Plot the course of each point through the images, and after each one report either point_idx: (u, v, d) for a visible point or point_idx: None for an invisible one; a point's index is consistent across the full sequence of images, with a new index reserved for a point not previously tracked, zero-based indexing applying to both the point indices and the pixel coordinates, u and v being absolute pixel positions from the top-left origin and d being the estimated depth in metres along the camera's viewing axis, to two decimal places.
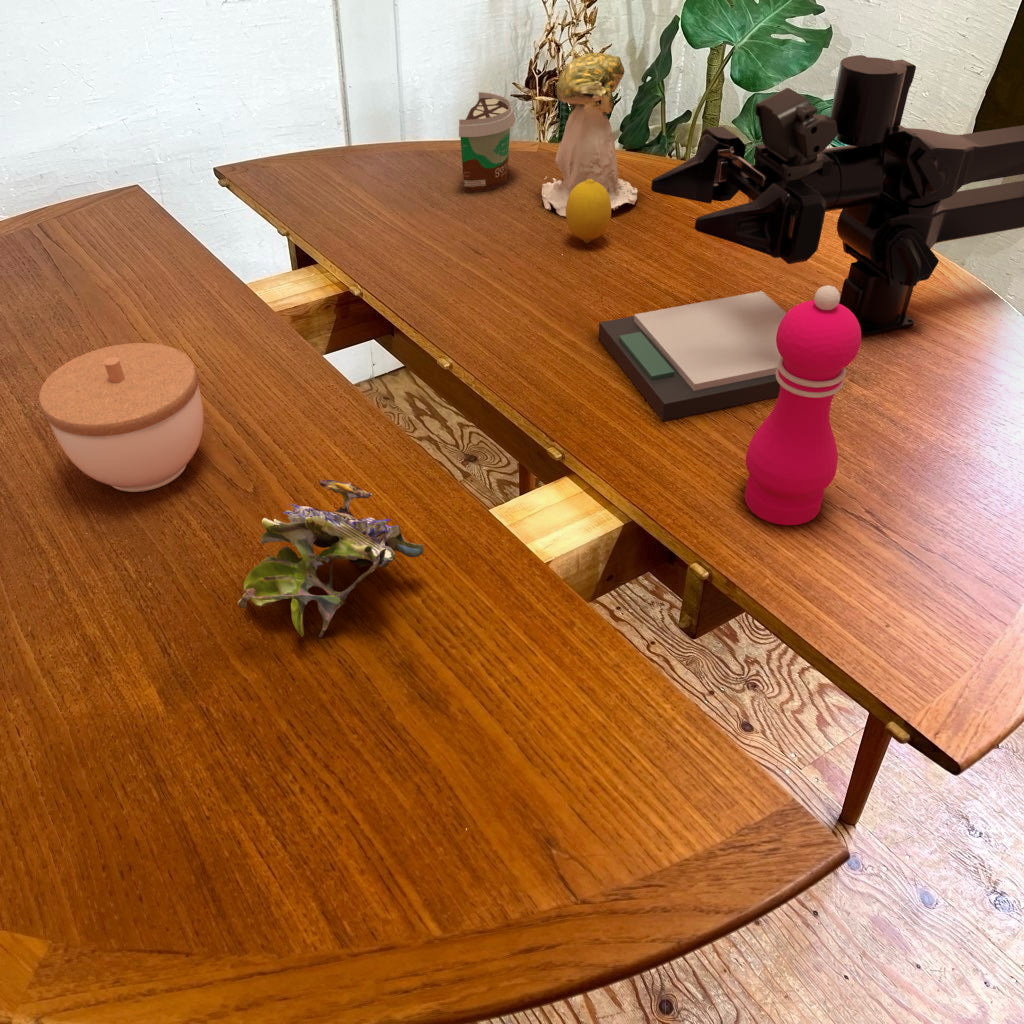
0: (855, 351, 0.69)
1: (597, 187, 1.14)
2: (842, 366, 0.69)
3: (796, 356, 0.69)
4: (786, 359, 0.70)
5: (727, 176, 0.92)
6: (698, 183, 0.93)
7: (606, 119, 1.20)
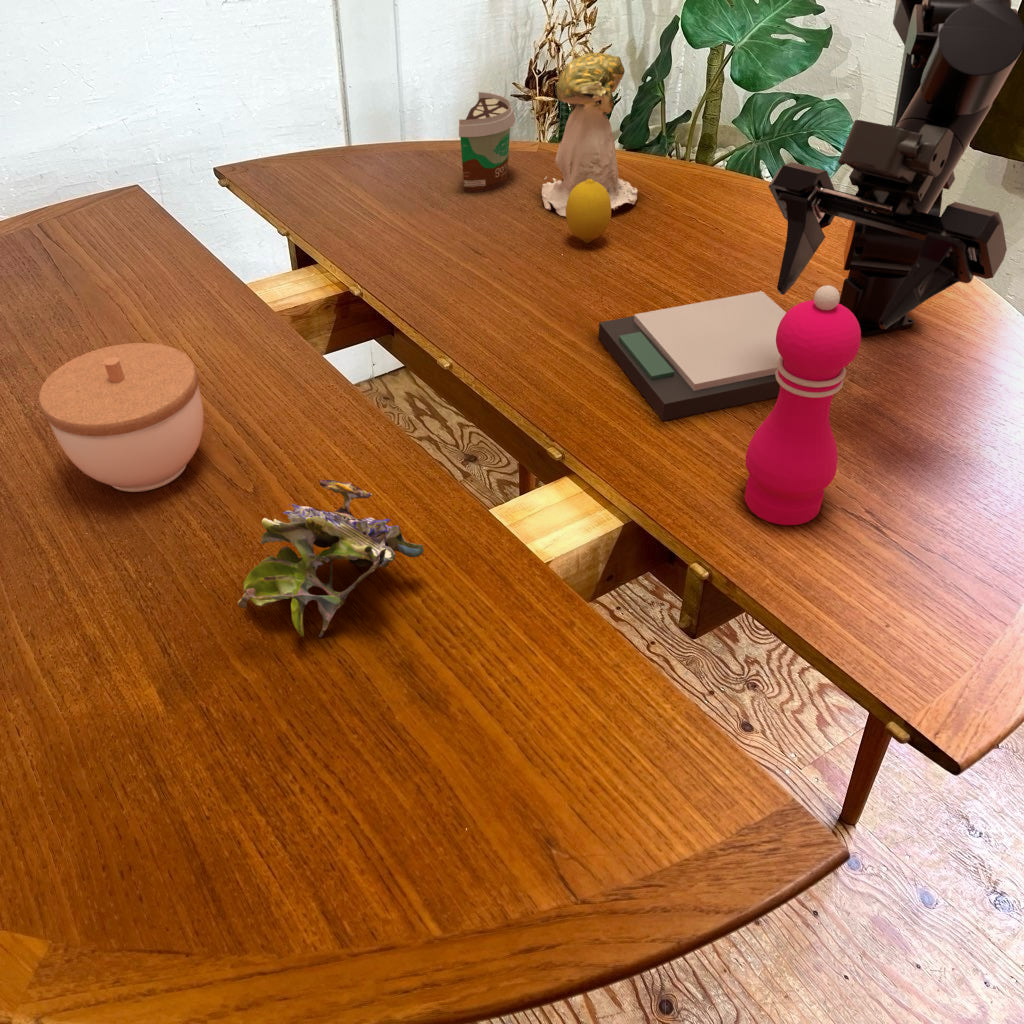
0: (855, 351, 0.69)
1: (597, 187, 1.14)
2: (842, 366, 0.69)
3: (796, 356, 0.69)
4: (786, 359, 0.70)
5: (831, 212, 0.80)
6: (809, 243, 0.81)
7: (606, 119, 1.20)
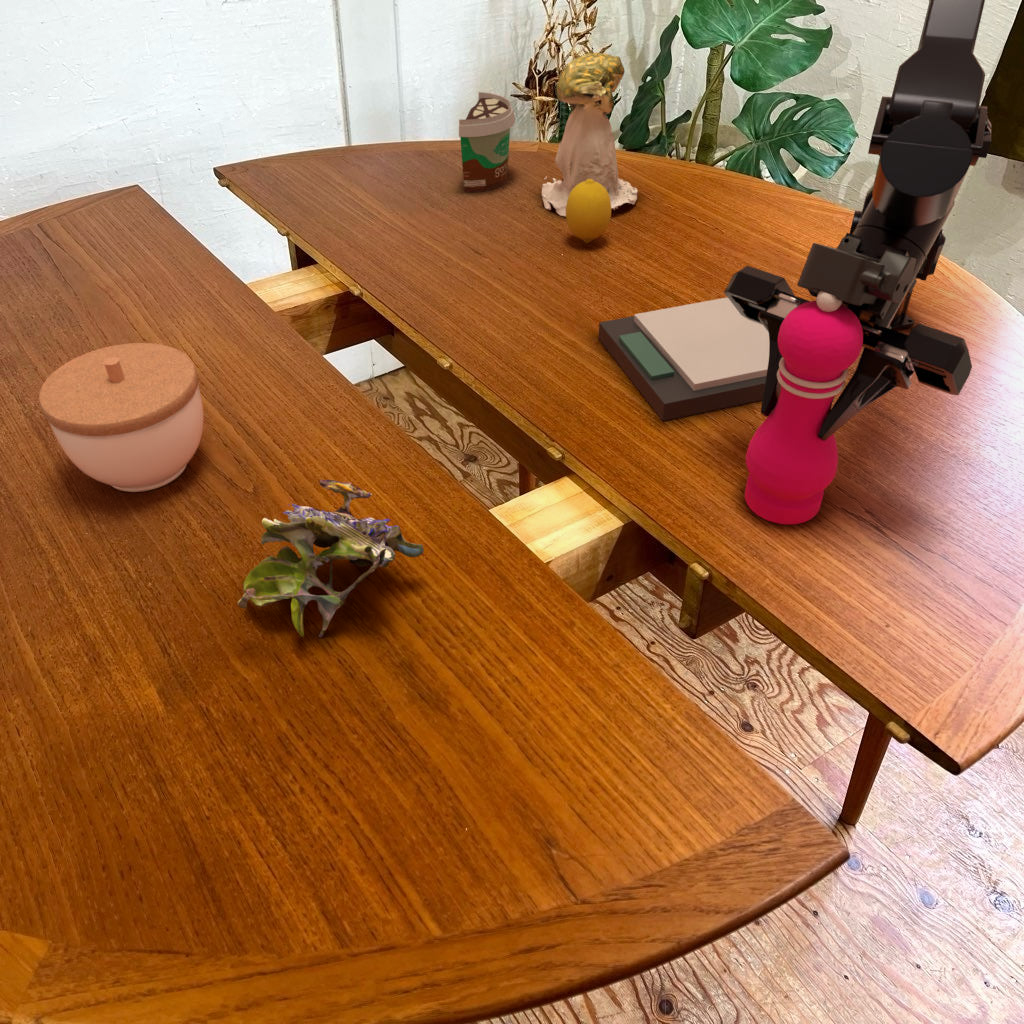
0: (856, 353, 0.69)
1: (597, 187, 1.14)
2: (842, 368, 0.69)
3: (796, 357, 0.69)
4: (787, 359, 0.70)
5: None
6: None
7: (606, 119, 1.20)
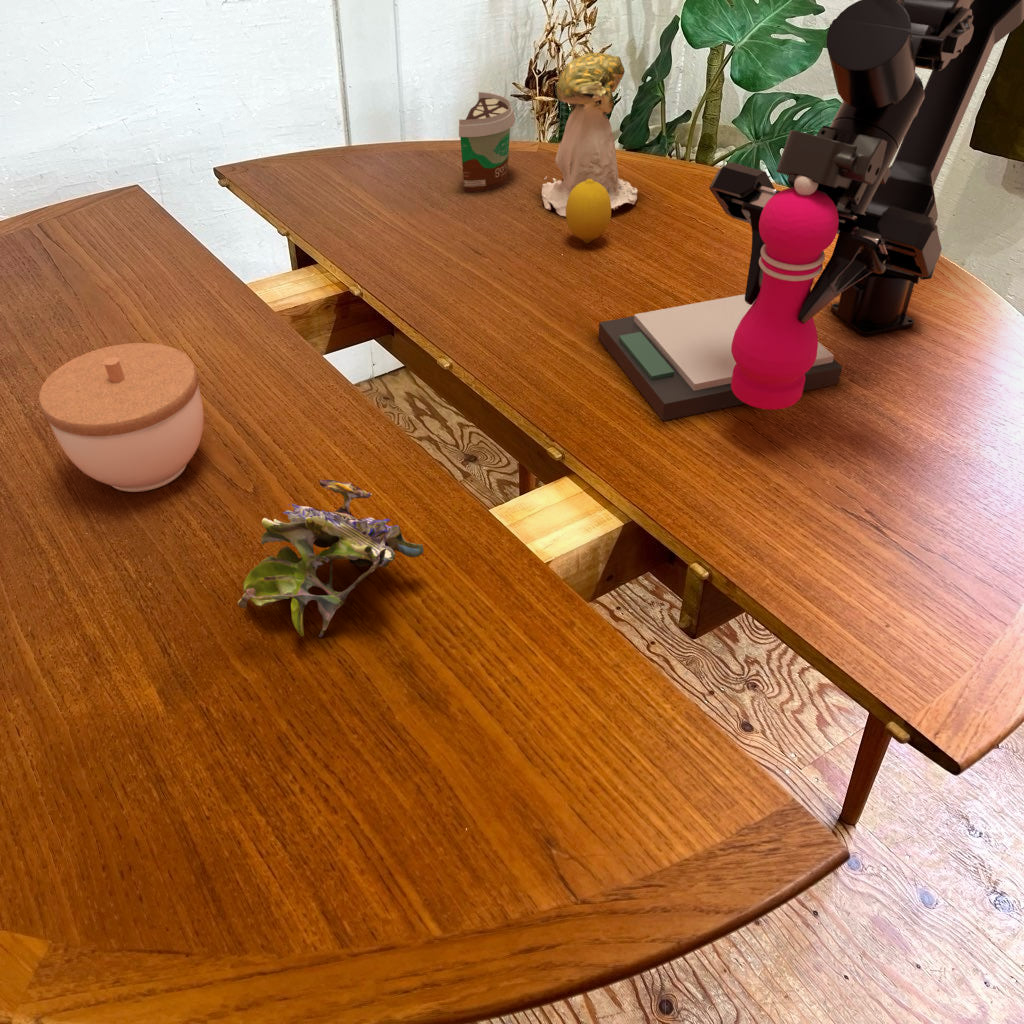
0: (832, 235, 0.73)
1: (597, 187, 1.14)
2: (819, 249, 0.74)
3: (776, 239, 0.74)
4: (767, 243, 0.75)
5: None
6: None
7: (606, 119, 1.20)
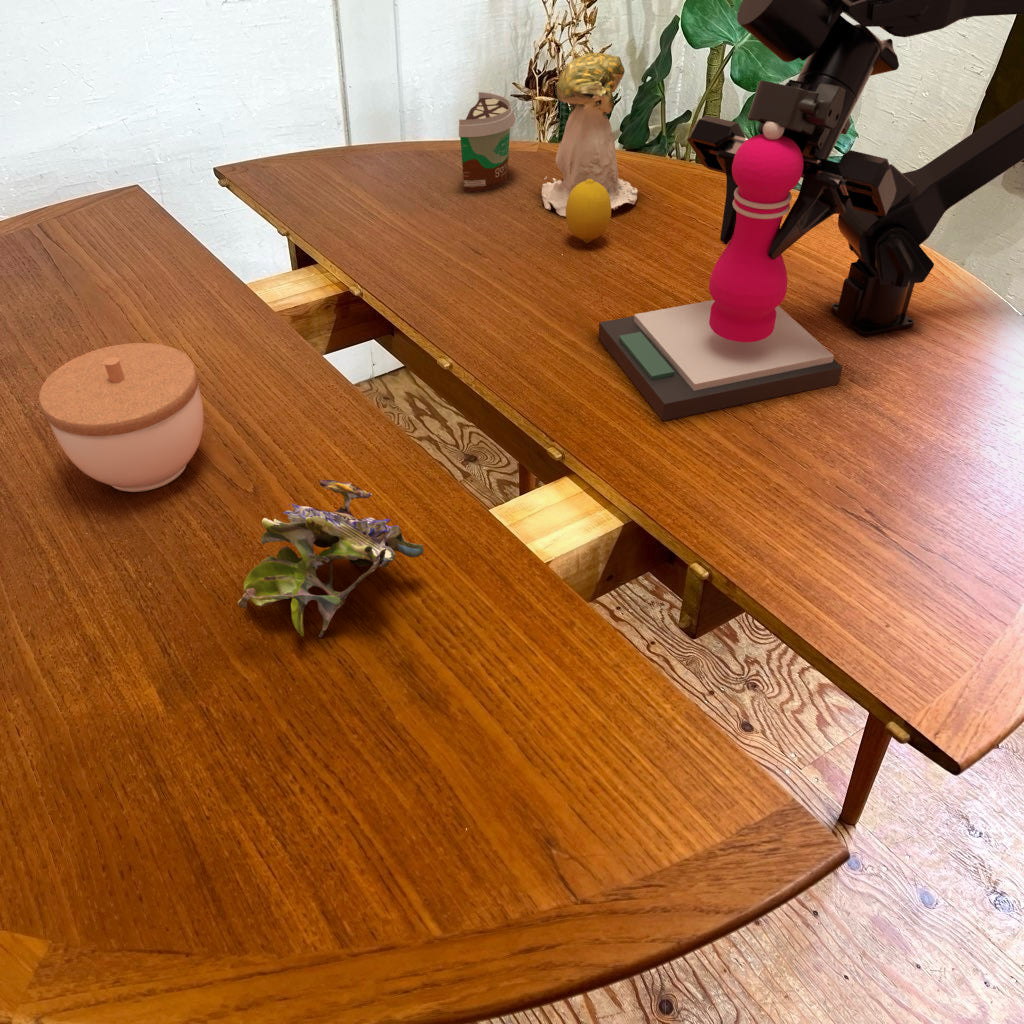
0: (797, 175, 0.82)
1: (597, 187, 1.14)
2: (786, 188, 0.82)
3: (747, 180, 0.82)
4: (739, 184, 0.83)
5: None
6: None
7: (606, 119, 1.20)
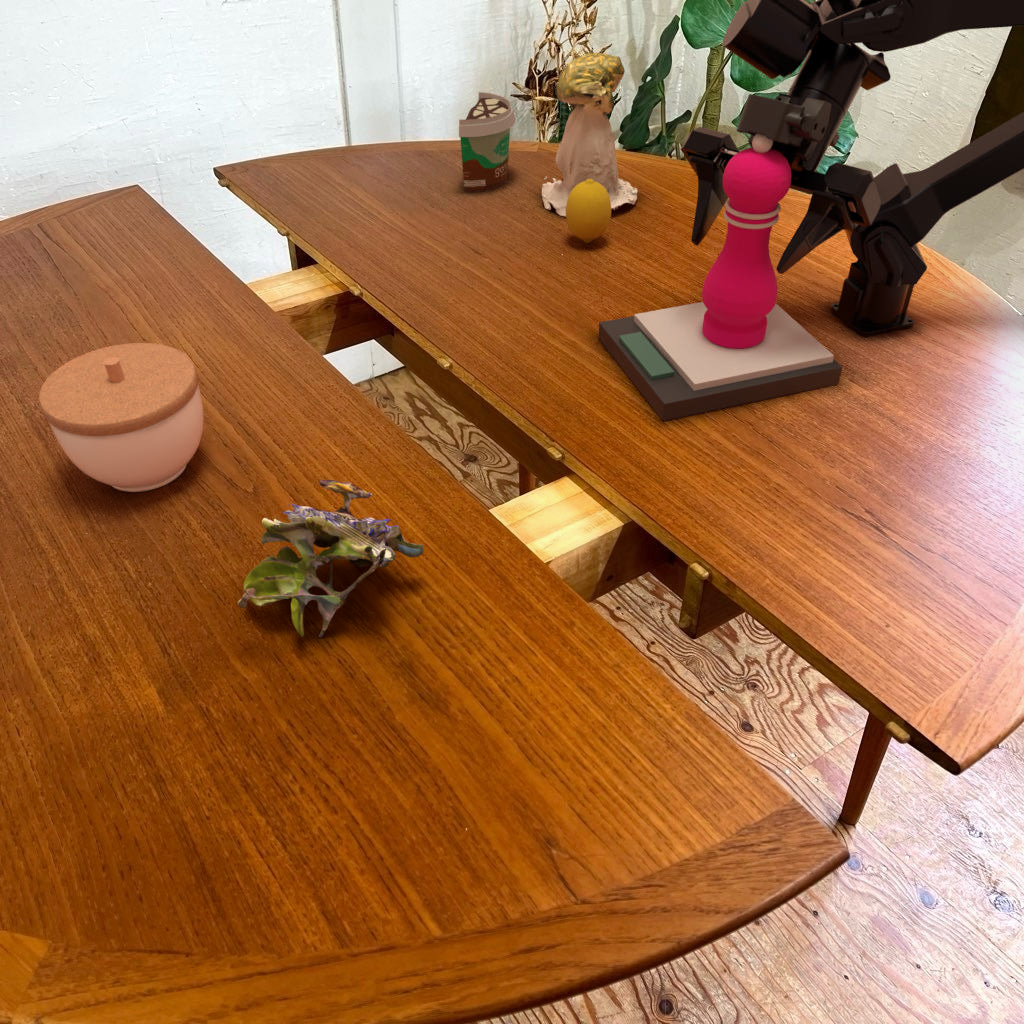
0: (785, 187, 0.85)
1: (597, 187, 1.14)
2: (774, 200, 0.85)
3: (736, 191, 0.85)
4: (729, 195, 0.86)
5: None
6: (718, 198, 0.93)
7: (606, 119, 1.20)
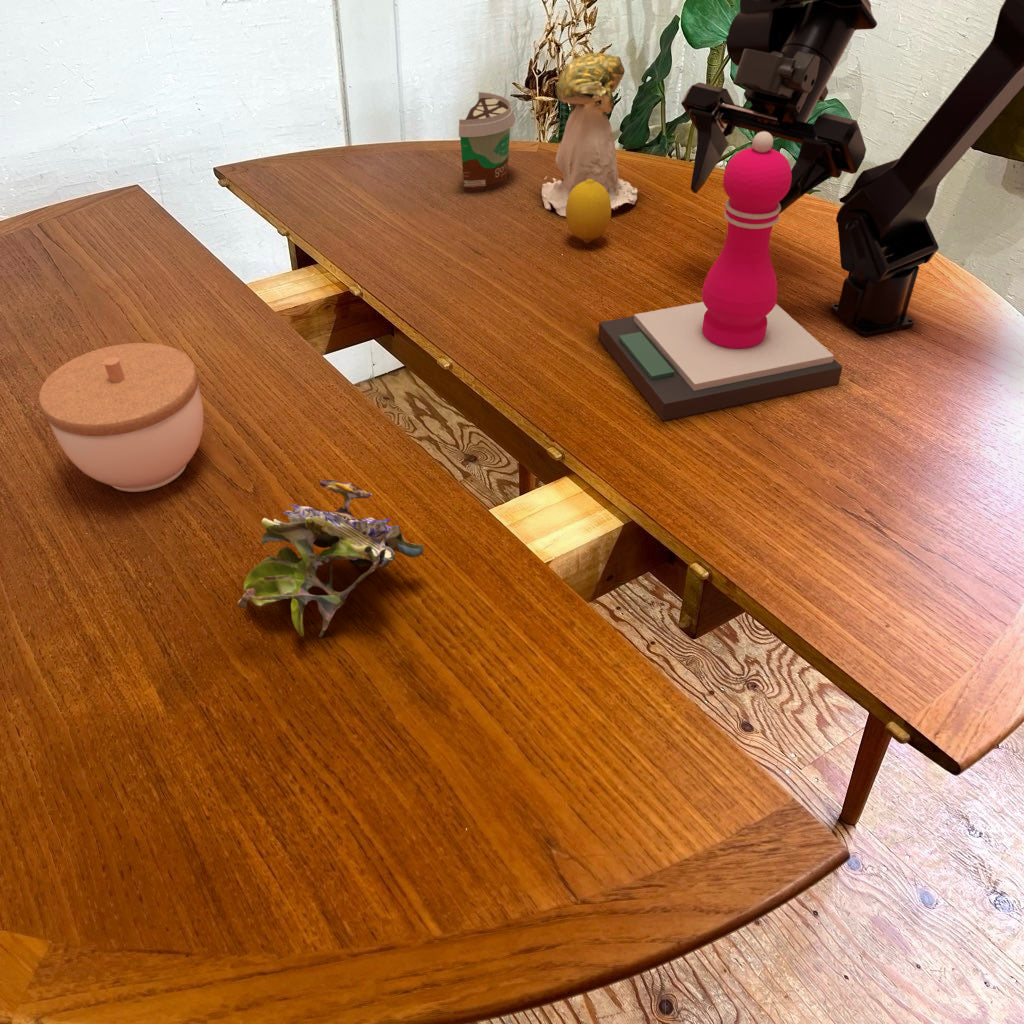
0: (785, 187, 0.85)
1: (597, 187, 1.14)
2: (775, 199, 0.85)
3: (737, 191, 0.85)
4: (730, 195, 0.86)
5: (732, 123, 0.99)
6: (715, 149, 1.00)
7: (606, 119, 1.20)
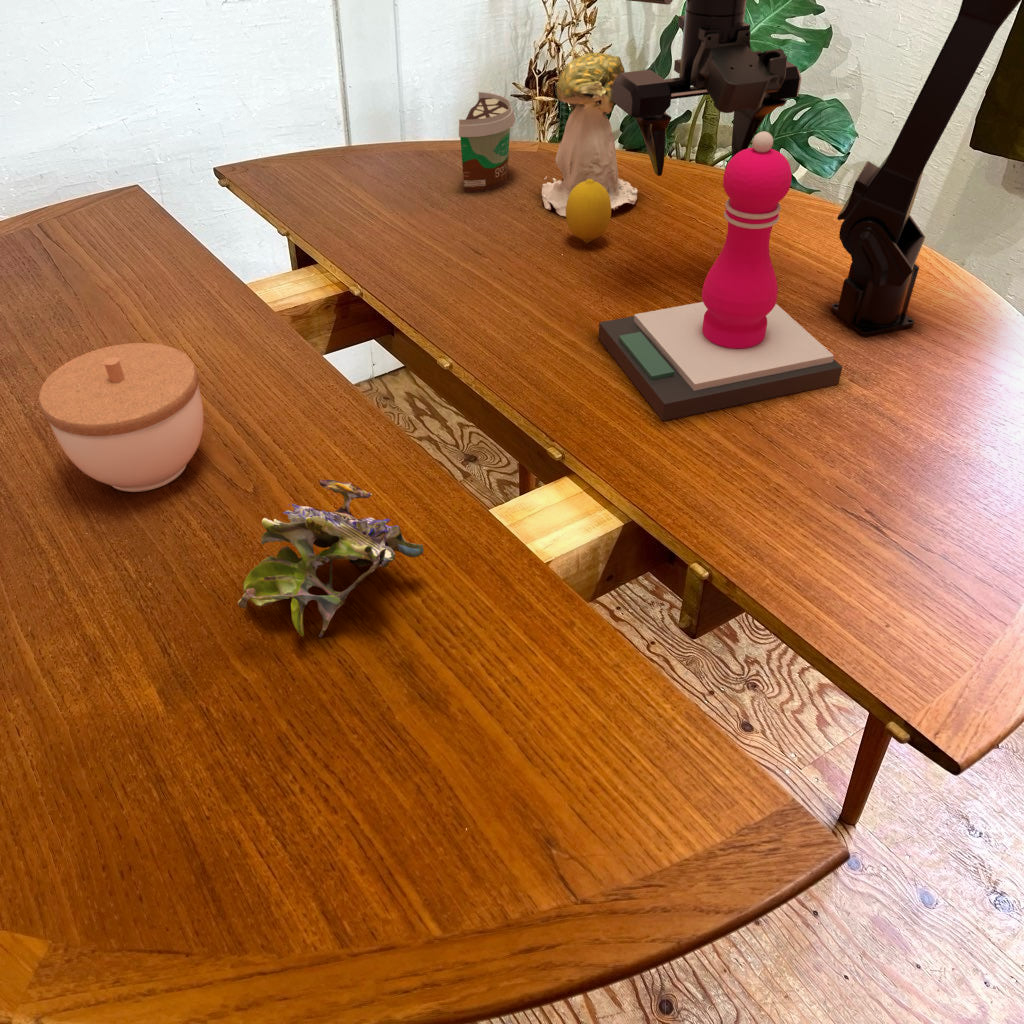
0: (785, 187, 0.85)
1: (597, 187, 1.14)
2: (775, 199, 0.85)
3: (737, 191, 0.85)
4: (730, 195, 0.86)
5: None
6: None
7: (606, 119, 1.20)
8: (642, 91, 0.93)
